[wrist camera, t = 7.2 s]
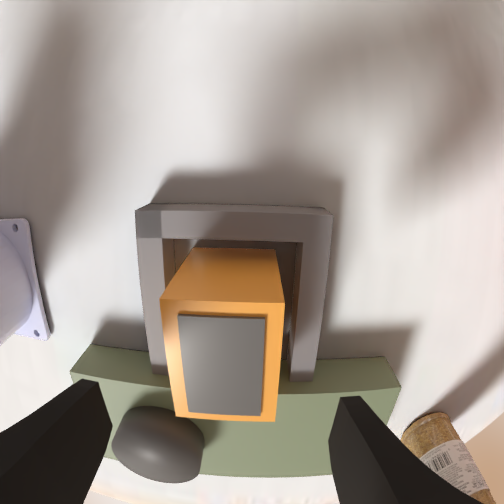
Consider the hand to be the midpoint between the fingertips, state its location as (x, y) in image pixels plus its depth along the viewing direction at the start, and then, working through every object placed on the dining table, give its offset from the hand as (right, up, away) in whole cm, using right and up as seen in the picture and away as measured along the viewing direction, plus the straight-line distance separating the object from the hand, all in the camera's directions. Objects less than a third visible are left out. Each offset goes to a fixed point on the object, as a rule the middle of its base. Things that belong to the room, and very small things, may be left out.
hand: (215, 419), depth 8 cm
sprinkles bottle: (+15, -9, +11) cm, 21 cm away
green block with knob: (0, -1, +9) cm, 9 cm away
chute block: (0, +3, +8) cm, 9 cm away
